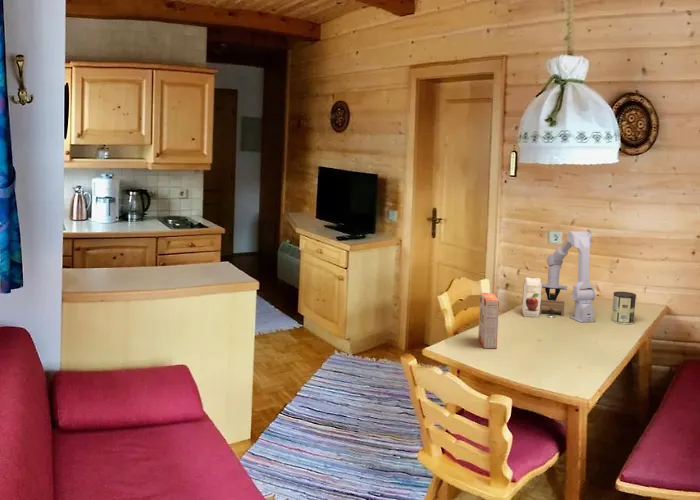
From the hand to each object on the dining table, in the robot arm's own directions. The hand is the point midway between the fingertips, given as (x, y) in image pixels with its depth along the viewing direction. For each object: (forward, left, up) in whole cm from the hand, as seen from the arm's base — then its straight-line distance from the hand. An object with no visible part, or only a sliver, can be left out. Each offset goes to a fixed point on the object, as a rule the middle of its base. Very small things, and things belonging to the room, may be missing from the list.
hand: (551, 302), depth 354 cm
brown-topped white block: (-6, +3, -2) cm, 7 cm away
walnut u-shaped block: (-15, +9, -2) cm, 18 cm away
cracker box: (-58, +65, -2) cm, 87 cm away
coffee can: (-35, -18, -2) cm, 39 cm away
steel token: (-21, +13, -2) cm, 25 cm away
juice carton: (-17, +22, -2) cm, 28 cm away
